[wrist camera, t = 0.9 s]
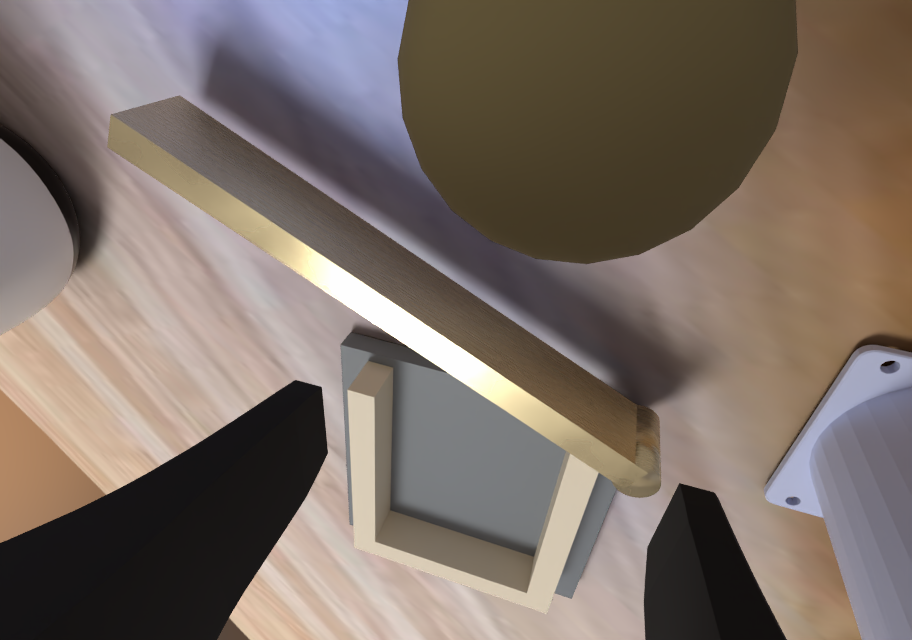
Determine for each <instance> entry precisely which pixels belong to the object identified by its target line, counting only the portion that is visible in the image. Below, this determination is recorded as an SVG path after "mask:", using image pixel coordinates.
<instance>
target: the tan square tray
mask: <svg viewBox="0 0 912 640" xmlns="http://www.w3.org/2000/svg"><path fill="white" fill-rule="evenodd" d="M341 363H342V382H343V402H344V421H345V441H346V461H347V480H348V500H349V520H350V525H353V527H354V548H357V549H360V550H363V551H365V552H368V553H371V554H374V555H377V556H380V557H383V558H386V559H389V560H392V561H395V562H397V563H400V564H403V565H406V566H409V567H412V568H415V569H418V570H421V571H424V572H426V573H429V574H432V575H435V576H438V577H441V578H444V579H447V580H450V581H453V582H456V583H458V584H461V585H464V586H467V587H470V588H473V589H476V590H479V591H482V592H485V593H487V594H490V595H493V596H496V597H499V598H502V599H505V600H508V601H511V602H514V603H517V604H519V605H522V606H525V607H528V608H531V609H534V610H537V611H540V612H543V613H546V614H547V612H548V609H549V606H550V603H551V601H552V598H553V595H554V593H556V594H559V595H562V596H565V597H568V598H571V599H572V597H573V594H574V592H575V589H576V587H577V584H578V582H579V579H580V577H581V574H582V572H583V570H584V567H585V565H586V562H587V560H588V557H589V555H590V552H591V550H592V548H593V545H594V543H595V540H596V538H597V535H598V533H599V530H600V528H601V525H602V523H603V521H604V518H605V516H606V513H607V511H608V508H609V506H610V503H611V501H612V499H613V496H614V494H615V491H616V488H615V487H614V485H613V483H612V481H611V480H609V479H608V478H606V477H605V476H603V475H602V474H600V473H599V472H597V471H596V470H594V469H593V468H591V467H590V466H588V465H587V464H585V463H584V462H582V461H581V460H579V459H578V458H576V457H575V456H573V455H572V454H570V453H569V452H567V451H565V450H564V449H562V448H561V447H559V446H558V445H556V444H555V443H553V442H552V441H550V440H549V439H547V438H546V437H544V436H543V435H541V434H540V433H538V432H537V431H535V430H534V429H532V428H531V427H529V426H528V425H526V424H525V423H523V422H522V421H520V420H519V419H517V418H516V417H514V416H513V415H511V414H510V413H508V412H507V411H505V410H504V409H502V408H501V407H499V406H498V405H496V404H494V403H493V402H491V401H490V400H488V399H487V398H485V397H484V396H482V395H481V394H479V393H478V392H476V391H475V390H473V389H472V388H470V387H469V386H467V385H466V384H464V383H463V382H461V381H460V380H458V379H457V378H455V377H454V376H452V375H451V374H449V373H448V372H446V371H445V370H443V369H442V368H440V367H439V366H437V365H436V364H434V363H433V362H431V361H430V360H428V359H427V358H425V357H424V356H422V355H420V354H419V353H417V352H416V351H414V350H413V349H411V348H409V347H405V346H402V345H398V344H394V343H390V342H386V341H382V340H379V339H375V338H371V337H367V336H363V335H359V334H356V333H352V332H351V333H350V334H349V335H348V336H347V338H346V339H345V340H344V341H343V342H342V344H341Z"/></svg>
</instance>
